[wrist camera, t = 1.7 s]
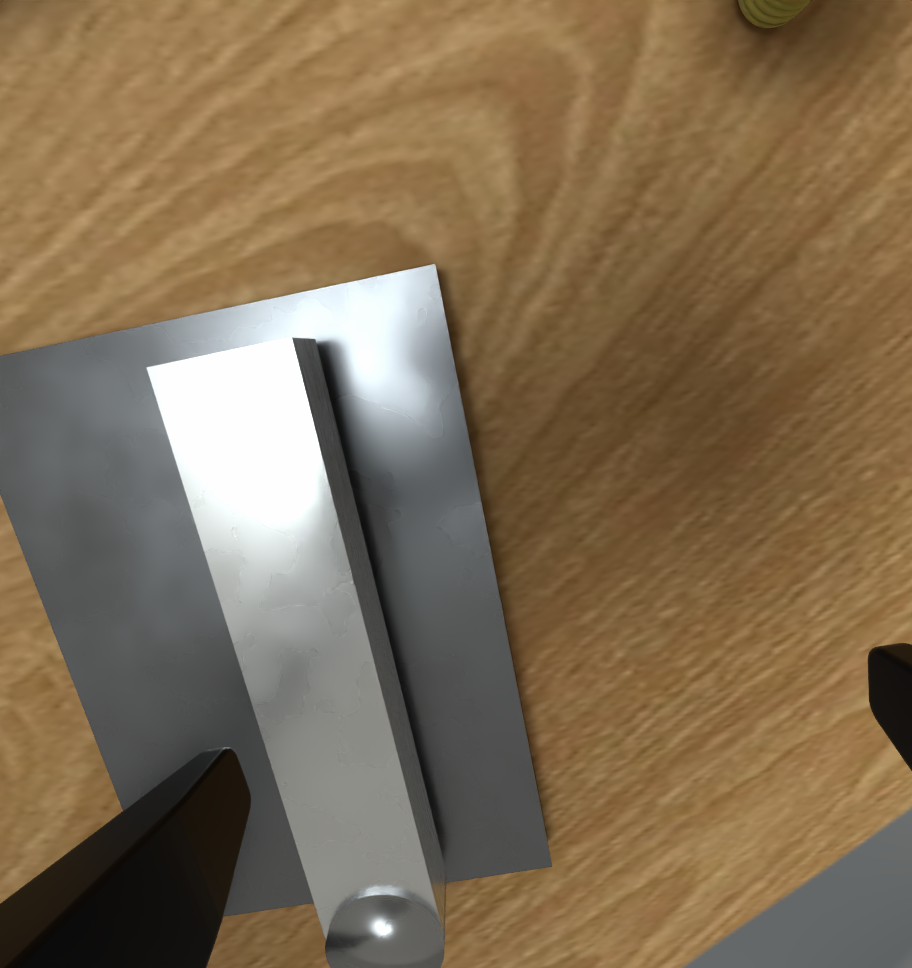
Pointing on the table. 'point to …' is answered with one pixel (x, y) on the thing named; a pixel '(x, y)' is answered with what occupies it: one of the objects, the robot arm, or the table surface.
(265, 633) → the metal bar
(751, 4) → the light bulb
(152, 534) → the label panel
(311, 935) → the table surface
